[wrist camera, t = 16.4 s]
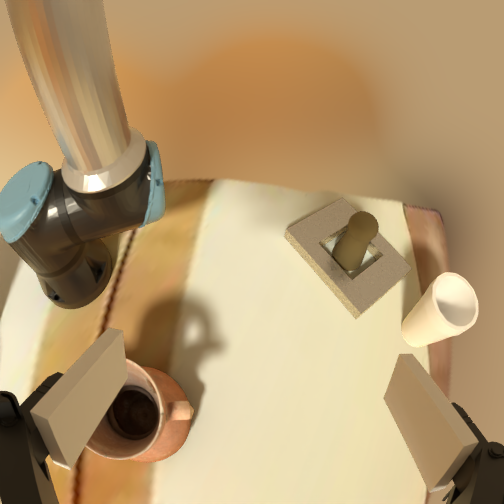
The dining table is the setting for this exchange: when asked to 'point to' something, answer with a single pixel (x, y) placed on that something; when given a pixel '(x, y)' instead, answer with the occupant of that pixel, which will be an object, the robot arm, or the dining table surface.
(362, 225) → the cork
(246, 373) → the dining table surface
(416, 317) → the foam cup
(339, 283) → the plate
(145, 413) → the ceramic jug
